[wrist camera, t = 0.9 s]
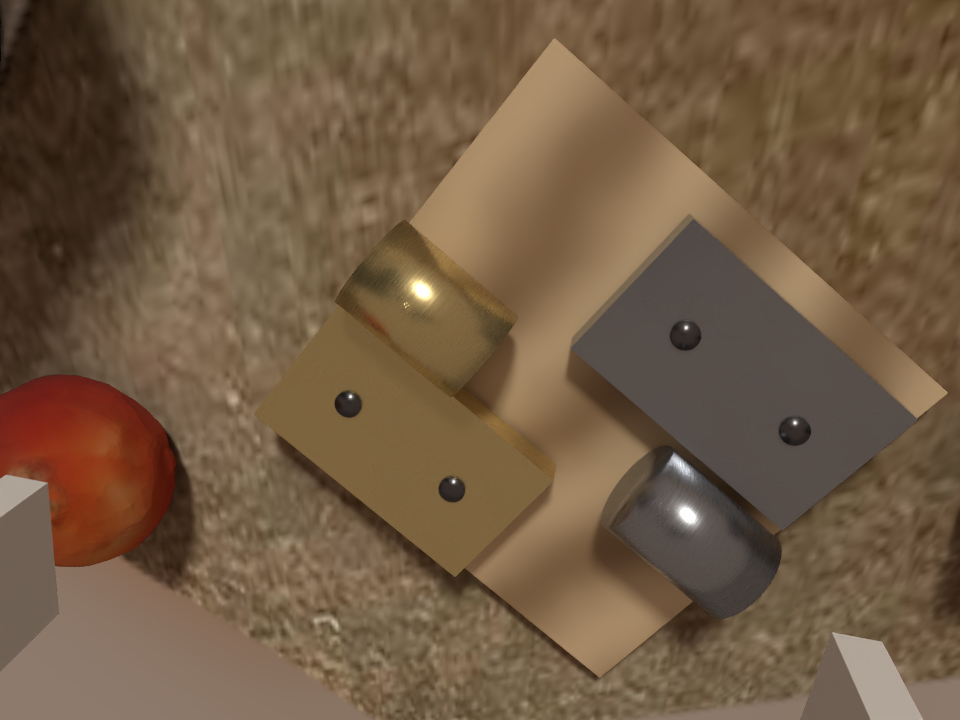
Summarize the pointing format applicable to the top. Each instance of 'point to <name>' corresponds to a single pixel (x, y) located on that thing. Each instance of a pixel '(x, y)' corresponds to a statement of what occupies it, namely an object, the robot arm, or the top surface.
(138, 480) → the tomato
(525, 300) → the board
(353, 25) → the top surface
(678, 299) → the fixed leaf
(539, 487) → the loose leaf
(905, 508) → the top surface
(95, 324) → the top surface
